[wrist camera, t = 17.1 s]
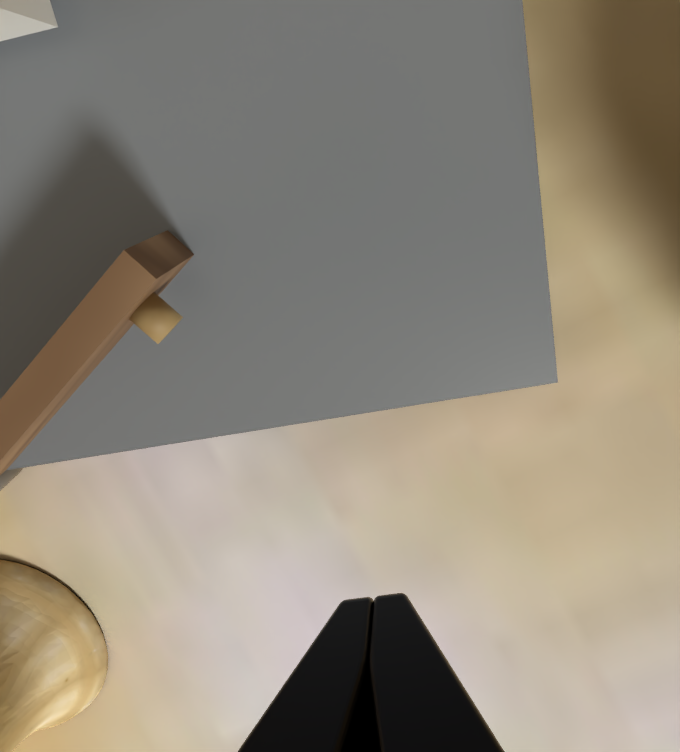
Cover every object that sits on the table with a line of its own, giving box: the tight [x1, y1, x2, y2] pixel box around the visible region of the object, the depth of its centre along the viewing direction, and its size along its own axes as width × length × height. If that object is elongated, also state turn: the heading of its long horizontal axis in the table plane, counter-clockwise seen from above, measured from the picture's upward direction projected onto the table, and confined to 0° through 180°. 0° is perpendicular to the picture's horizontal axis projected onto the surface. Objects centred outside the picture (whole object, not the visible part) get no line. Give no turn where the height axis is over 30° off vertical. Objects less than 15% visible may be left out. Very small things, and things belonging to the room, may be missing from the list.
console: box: [0, 0, 558, 491], centre depth 17 cm, size 20×19×6 cm
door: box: [0, 230, 194, 475], centre depth 19 cm, size 2×10×3 cm, turn 136°
